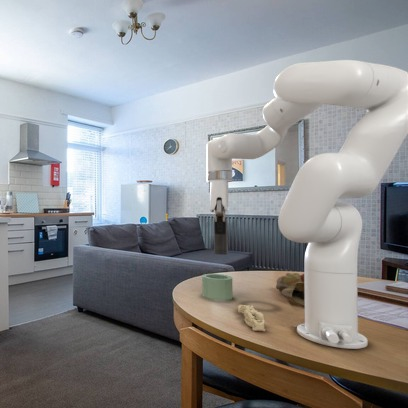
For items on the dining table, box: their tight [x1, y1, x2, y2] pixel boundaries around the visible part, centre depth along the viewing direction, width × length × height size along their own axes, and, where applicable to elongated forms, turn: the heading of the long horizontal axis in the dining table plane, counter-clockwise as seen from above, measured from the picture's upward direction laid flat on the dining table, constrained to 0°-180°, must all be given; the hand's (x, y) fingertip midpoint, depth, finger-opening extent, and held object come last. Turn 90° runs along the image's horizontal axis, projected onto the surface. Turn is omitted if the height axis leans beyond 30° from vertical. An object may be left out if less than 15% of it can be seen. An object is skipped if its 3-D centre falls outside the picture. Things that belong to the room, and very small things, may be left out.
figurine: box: [275, 272, 305, 308], centre depth 103 cm, size 15×9×20 cm
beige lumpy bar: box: [237, 304, 266, 332], centre depth 87 cm, size 17×4×3 cm, turn 169°
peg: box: [213, 216, 229, 255], centre depth 107 cm, size 4×4×12 cm
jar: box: [201, 273, 234, 301], centre depth 108 cm, size 9×9×7 cm
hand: (220, 233), depth 107 cm, fingers closed on peg, 4 cm apart
